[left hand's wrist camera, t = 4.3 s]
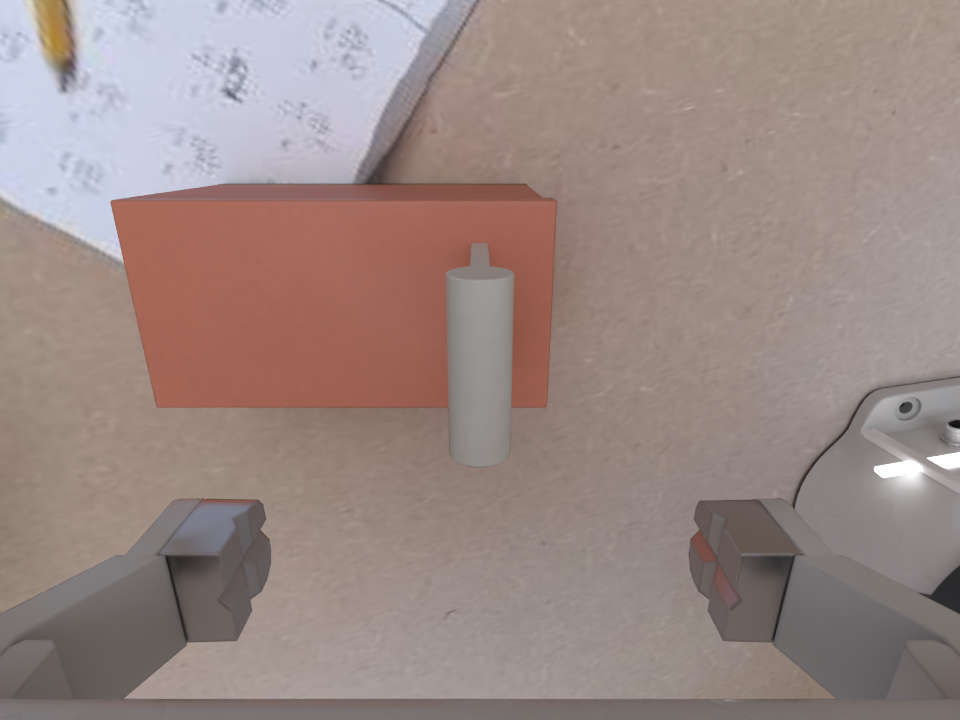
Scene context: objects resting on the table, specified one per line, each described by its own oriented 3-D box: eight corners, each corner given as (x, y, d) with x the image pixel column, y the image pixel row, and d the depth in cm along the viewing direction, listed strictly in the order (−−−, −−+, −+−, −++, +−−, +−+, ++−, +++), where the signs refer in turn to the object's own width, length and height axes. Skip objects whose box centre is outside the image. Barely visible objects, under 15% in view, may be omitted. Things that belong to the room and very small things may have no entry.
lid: (553, 197, 24) (593, 225, 15) (544, 396, 27) (573, 507, 19) (127, 197, 24) (-64, 225, 15) (169, 396, 27) (32, 508, 19)
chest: (525, 183, 33) (543, 197, 24) (521, 334, 36) (536, 396, 27) (224, 183, 33) (127, 197, 24) (247, 333, 36) (170, 396, 27)
